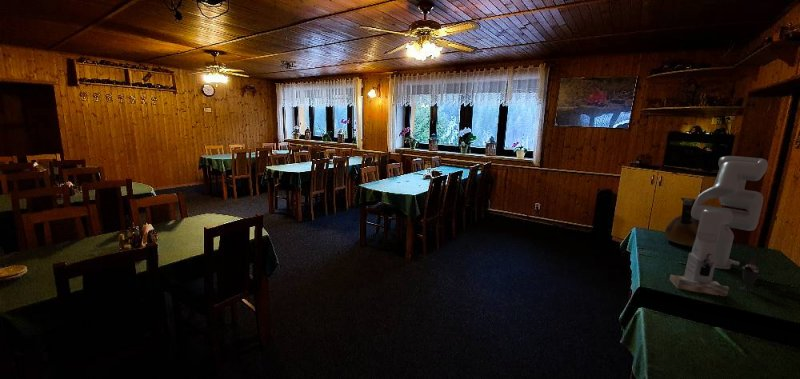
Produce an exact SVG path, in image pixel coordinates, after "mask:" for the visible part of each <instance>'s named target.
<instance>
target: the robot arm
mask: <svg viewBox="0 0 800 379" xmlns="http://www.w3.org/2000/svg"><path fill="white" fill-rule="evenodd" d="M717 164H718V167H719V169H718V172H717V175H716V178H715V180H714V183H713V185H712V187H709V188H707V189H705V190H704V191H702V192H700V193H699V194H698V195H697V196H696V198H695V199H696V200H695V202H694V205H693V207H692V210H691V216H692V217H693V218H694V219H696V220H700V221H699V226H698V231H697V235H696V239H695V242H694V245H693V247H691V252H690V253H693V254H694V255H695V256H696V257H697V258H698V259H699V260H698V261H700V262H701V261H702V265H703V267H701V271H700V275H702V276H709V274H710V270H711V268H712V265H713V263H714V261H713V259H715V260H716V264H715V269H720V270H730V269H731V268H732V266H731V265H734V266H740V261H737V260H734V259H730V254H731V251H732V250H731V249H732V247H733V243H734V242H733V241H734V239H735V235H734V232H733V230H732V229H736V230H737V229H738V230H741V231H742V230H743V231H749V232H750V231H751V232H752V231H755V229H756V228H757V227H758V224H759V221H760V216H761V212H762V207H763V203H764V195H763V194H762V193H761V192H759V191H755V190H748V189H745V187H746V183H747V181H752V182H758V181H760V180H761V179H762V177H763V176H764V174H766V172H767V170H768V166H769V163H768V160H767V159H765V158H758V157H749V156H737V155H736V156H735V155H725V156H721V157H719V159H718V163H717ZM716 198H718V202H719V204H720V205H722V206H725V207H719V206H715V205H714V206H713V205H707V204H704V203H705V202H706V201H708V200H711V199H716ZM726 206H727V207H726ZM728 207H731V208H728ZM735 208H737V209H735ZM739 209H742V210H739ZM743 209H744V210H743ZM731 228H732V229H731ZM704 260H708V261H704ZM705 263H707V264H706V265H705Z"/></svg>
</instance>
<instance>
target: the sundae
mask: <svg viewBox="0 0 800 379" xmlns="http://www.w3.org/2000/svg"><path fill="white" fill-rule="evenodd" d="M740 268H741V269H742V280H743V281H744V282H745V285H744V286H739V287H738V289H739V290H741V291H743V292H746V293H754V290H753V289H751V288H750V285H751V284H753V283H755V282H756V280H757V279H758V276H759V275H760V274H762V271H761V269H759V268H758V266H757V264H756V258H753V261H751V262H749V263H747V264H746V265H744V266H741V267H740Z"/></svg>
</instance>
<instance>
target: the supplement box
mask: <svg viewBox="0 0 800 379" xmlns="http://www.w3.org/2000/svg"><path fill="white" fill-rule="evenodd" d="M687 256H688V257H687V260H686V261H687V263H686V266H685V271H684V275H683V277H685V278H686V279H687V280H690V281H696V282H703V283H709V284H711V282H712V281H713V277H714V272H715V269H716V268H715V264H716V260H715V259H713V261H714V263H713V265H712V268H711V270H710V274H709V276H702V275H700V271H701V267H703V265H702V261H701V262H700V261H698V260H699V259H698V258H697V257H696V256H695V255H694V254H693V253H691V252H689V253H688V255H687ZM704 261H708V260H704ZM706 264H707V263H705V265H706Z"/></svg>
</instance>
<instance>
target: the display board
mask: <svg viewBox="0 0 800 379" xmlns="http://www.w3.org/2000/svg"><path fill="white" fill-rule="evenodd" d="M669 276H670V277H669V280H670V282H671V283H672V284H673V285H674V287H675V288H676V289H678V290H684V291H689V292H695V293H703V294H707V295H708V294H709V295H715V296H719V295H720V296H721V297H725V296H726V297H728V293H729V289H730V287H729V286H727V285H721V284H720V283H719V282H718V281H714V280H712V282H711V284H709V283H703V282H696V281H690V280H687V279H686V278H685V277H684V275H682V276H681V275H676V274H675V275H674V274H670V275H669Z"/></svg>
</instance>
